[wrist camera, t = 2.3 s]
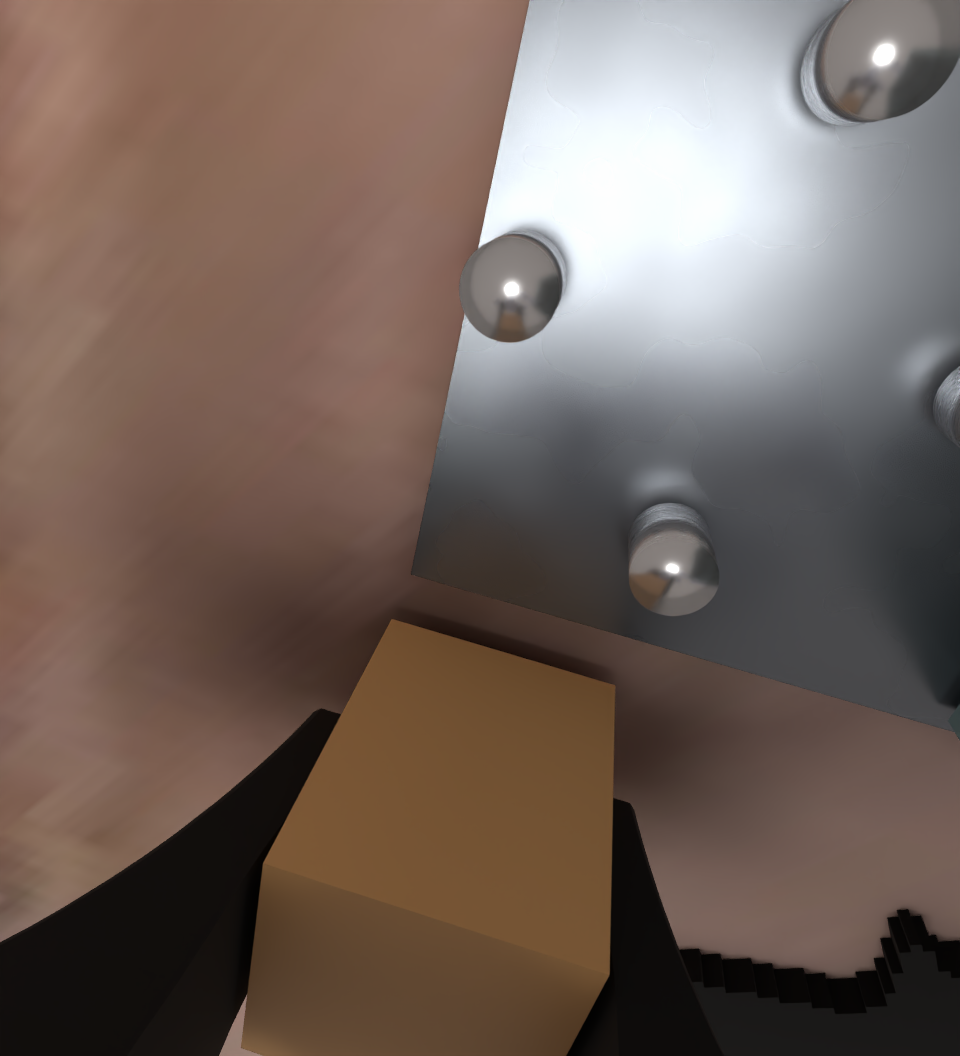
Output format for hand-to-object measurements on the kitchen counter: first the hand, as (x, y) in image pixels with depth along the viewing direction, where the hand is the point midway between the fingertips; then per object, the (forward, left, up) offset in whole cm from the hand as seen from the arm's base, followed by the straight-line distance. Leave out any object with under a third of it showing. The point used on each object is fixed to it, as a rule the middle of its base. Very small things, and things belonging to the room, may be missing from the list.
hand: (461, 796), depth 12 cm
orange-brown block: (0, 0, -2) cm, 2 cm away
